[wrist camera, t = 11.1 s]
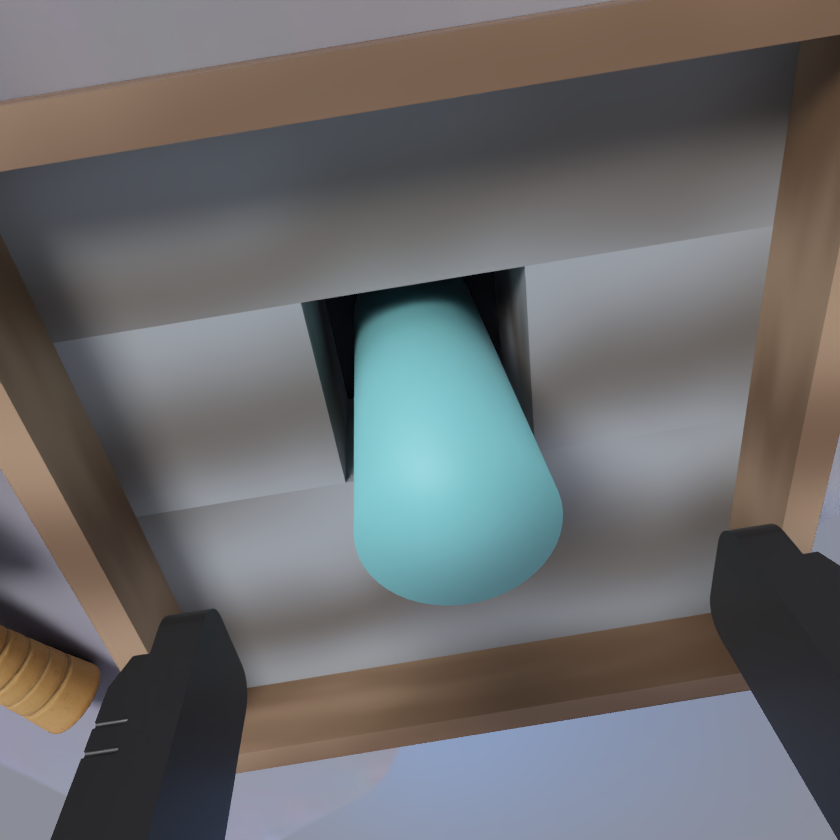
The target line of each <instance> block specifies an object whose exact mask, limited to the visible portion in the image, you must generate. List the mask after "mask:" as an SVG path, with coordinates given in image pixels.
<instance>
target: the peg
mask: <svg viewBox="0 0 840 840" xmlns="http://www.w3.org/2000/svg"><path fill="white" fill-rule="evenodd" d="M562 524H563V508H562V501H561V498H560V495H559V492H558V489H557V487H556V485H555V483H554V480H553V478H552V476H551V474H550V471H549V469H548V467H547V465H546V462H545V460H544V458H543V456H542V453H541V451H540V449H539V447H538V444H537V442H536V440H535V438H534V435H533V433H532V431H531V429H530V426H529V424H528V422H527V420H526V417H525V415H524V413H523V411H522V408H521V406H520V404H519V402H518V399H517V397H516V395H515V393H514V391H513V388H512V386H511V384H510V382H509V379H508V377H507V375H506V373H505V370H504V368H503V366H502V364H501V361H500V359H499V357H498V355H497V352H496V350H495V348H494V346H493V343H492V341H491V339H490V337H489V334H488V332H487V330H486V328H485V325H484V323H483V321H482V319H481V316H480V314H479V312H478V310H477V307H476V305H475V303H474V301H473V298H472V296H471V294H470V292H469V290H468V288H467V286H466V284H465V282H464V281H463V279H462V278H461V277H456V278H450V279H444V280H437V281H431V282H425V283H419V284H413V285H407V286H401V287H394V288H388V289H382V290H376V291H370V292H364V293H359V294H358V297H357V301H356V305H355V334H354V543H355V548H356V551H357V554H358V557H359V559H360V561H361V562H362V564H363V566H364V568H365V569H366V570H367V571H368V573H369V574H370V575H371V576H372V577H373V578H374V579H375V580H376V581H377V582H378V583H379V584H381V585H382V586H383V587H385V588H386V589H387V590H389V591H391V592H393V593H395V594H397V595H399V596H401V597H404V598H406V599H409V600H412V601H416V602H419V603H425V604H431V605H442V606H451V605H464V604H471V603H476V602H481V601H484V600H488V599H491V598H494V597H496V596H499V595H501V594H504V593H506V592H508V591H510V590H512V589H513V588H515V587H517V586H519V585H520V584H521V583H523V582H524V581H526V580H527V579H528V578H530V577H531V576H532V575H533V574H534V573H536V572H537V571H538V570H539V568H540V567H541V566H542V565H543V564H544V563H545V562H546V560H547V559H548V558H549V556H550V555H551V553H552V552H553V550H554V548H555V546H556V544H557V542H558V539H559V536H560V533H561V529H562Z"/></svg>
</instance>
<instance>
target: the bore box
mask: <svg viewBox="0 0 840 840" xmlns="http://www.w3.org/2000/svg"><path fill="white" fill-rule="evenodd" d="M493 271H494V278H495V291H496V303H497V315H498V327H499V340H500V352H501V364H502V366H503V368H504V370H505V373H506V375H507V377H508V379H509V382H510V384H511V386H512V388H513V391H514V393H515V395H516V397H517V399H518V402H519V404H520V406H521V408H522V411H523V413H524V415H525V417H526V420H527V422H528V424H529V426H530V429H531V431H532V433H533V435H534V438H535V440H536V442H537V444H538V447H539V449H540V451H541V453H542V456H543V458H544V460H545V462H546V465H547V467H548V469H549V471H550V474H551V476H552V478H553V480H554V483H555V485H556V487H557V489H558V492H559V495H560V498H561V501H562V508H563V524H562V529H561V533H560V536H559V539H558V542H557V544H556V546H555V548H554V550H553V552H552V553H551V555H550V556H549V558H548V559H547V560H546V562H545V563H544V564H543V565H542V566H541V567H540V568H539V570H538V571H537V572H536V573H534V574H533V575H532V576H531V577H530V578H528V579H527V580H526V581H524V582H523V583H521V584H520V585H519V586H517V587H515V588H513V589H512V590H510V591H508V592H506V593H504V594H501V595H499V596H496V597H494V598H491V599H488V600H484V601H481V602H476V603H471V604H464V605H451V606H442V605H431V604H425V603H419V602H416V601H412V600H409V599H406V598H404V597H401V596H399V595H397V594H395V593H393V592H391V591H389V590H387V589H386V588H385V587H383V586H382V585H381V584H379V583H378V582H377V581H376V580H375V579H374V578H373V577H372V576H371V575H370V574H369V573H368V571H367V570H366V569H365V568H364V566H363V564H362V562H361V561H360V559H359V557H358V554H357V551H356V548H355V543H354V399H349V400H348V398H347V393H346V389H345V385H344V380H343V376H342V372H341V367H340V363H339V358H338V354H337V350H336V345H335V341H334V336H333V332H332V328H331V323H330V319H329V314H328V310H327V306H326V301H325V299H327V298H333V297H339V296H345V295H352V294H358V293H364V292H370V291H376V290H382V289H388V288H394V287H401V286H407V285H413V284H419V283H425V282H431V281H437V280H444V279H450V278H456V277H462V276H468V275H474V274H480V273H486V272H493ZM839 434H840V0H616V1H610V2H604V3H597V4H591V5H585V6H579V7H573V8H567V9H561V10H555V11H549V12H542V13H536V14H530V15H524V16H518V17H512V18H506V19H500V20H493V21H487V22H481V23H475V24H469V25H463V26H457V27H451V28H445V29H438V30H432V31H426V32H420V33H414V34H408V35H402V36H396V37H389V38H383V39H377V40H371V41H365V42H359V43H353V44H347V45H341V46H334V47H328V48H322V49H316V50H310V51H304V52H298V53H292V54H285V55H279V56H273V57H267V58H261V59H255V60H249V61H243V62H237V63H230V64H224V65H218V66H212V67H206V68H200V69H194V70H188V71H181V72H175V73H169V74H163V75H157V76H151V77H145V78H139V79H132V80H126V81H120V82H114V83H108V84H102V85H96V86H90V87H84V88H77V89H71V90H65V91H59V92H53V93H47V94H41V95H35V96H28V97H22V98H16V99H10V100H5V101H0V468H1V470H2V472H3V473H4V475H5V477H6V479H7V480H8V482H9V484H10V485H11V487H12V489H13V490H14V492H15V494H16V495H17V497H18V499H19V501H20V502H21V504H22V506H23V507H24V509H25V511H26V512H27V514H28V516H29V517H30V519H31V521H32V523H33V524H34V526H35V528H36V529H37V531H38V533H39V534H40V536H41V538H42V539H43V541H44V543H45V545H46V546H47V548H48V550H49V551H50V553H51V555H52V556H53V558H54V560H55V561H56V563H57V565H58V567H59V568H60V570H61V572H62V573H63V575H64V577H65V578H66V580H67V582H68V584H69V585H70V587H71V589H72V590H73V592H74V594H75V595H76V597H77V599H78V600H79V602H80V604H81V606H82V607H83V609H84V611H85V612H86V614H87V616H88V617H89V619H90V621H91V622H92V624H93V626H94V628H95V629H96V631H97V633H98V634H99V636H100V638H101V639H102V641H103V643H104V644H105V646H106V648H107V650H108V651H109V653H110V655H111V656H112V658H113V660H114V661H115V663H116V665H117V666H118V668H119V670H120V672H121V671H122V669H123V668H124V667H125V665H126V664H127V663H128V662H129V660H130V659H131V658H132V656H136V655H142V654H149V653H150V651H151V648H152V645H153V642H154V639H155V636H156V633H157V630H158V627H159V625H160V623H161V621H162V619H163V618H164V617H165V616H168V615H174V614H180V613H187V612H193V611H200V610H206V609H212V608H214V609H216V610H217V611H218V612H219V614H220V616H221V618H222V620H223V622H224V625H225V627H226V629H227V632H228V634H229V636H230V638H231V641H232V643H233V645H234V647H235V650H236V652H237V654H238V657H239V659H240V661H241V663H242V666H243V668H244V672H245V676H246V682H247V708H246V714H245V720H244V726H243V732H242V738H241V744H240V750H239V756H238V762H237V768H236V773H242V772H248V771H254V770H261V769H267V768H273V767H279V766H285V765H291V764H298V763H304V762H310V761H316V760H322V759H328V758H335V757H341V756H347V755H353V754H359V753H365V752H372V751H378V750H384V749H390V748H396V747H402V746H408V745H415V744H421V743H427V742H433V741H439V740H446V739H451V738H458V737H463V736H470V735H476V734H482V733H489V732H495V731H501V730H507V729H513V728H519V727H525V726H532V725H538V724H544V723H550V722H556V721H563V720H569V719H575V718H581V717H587V716H593V715H600V714H606V713H612V712H618V711H625V710H631V709H637V708H643V707H649V706H655V705H662V704H668V703H674V702H679V701H686V700H692V699H698V698H704V697H711V696H717V695H723V694H729V693H736V692H742V691H748V690H750V688H749V686H748V684H747V683H746V681H745V679H744V678H743V676H742V674H741V672H740V671H739V669H738V667H737V666H736V664H735V662H734V660H733V659H732V657H731V655H730V654H729V652H728V650H727V648H726V647H725V645H724V643H723V642H722V640H721V638H720V636H719V634H718V632H717V630H716V627H715V625H714V621H713V618H712V614H711V608H710V593H711V586H712V579H713V572H714V566H715V559H716V552H717V546H718V540H719V536H720V534H721V533H722V532H723V531H726V530H732V529H739V528H745V527H752V526H758V525H764V524H771V523H772V524H775V525H777V526H779V527H780V528H781V529H782V530H783V531H784V532H785V533H786V534H787V535H788V537H789V538H790V539H791V540H792V541H793V543H794V544H795V545H796V546H797V547H798V549H799V550H800V551H801V552H802V553H803V554H806V553H811V551H812V547H813V542H814V538H815V534H816V530H817V526H818V522H819V518H820V513H821V509H822V505H823V501H824V497H825V492H826V488H827V484H828V480H829V476H830V472H831V467H832V463H833V459H834V455H835V451H836V447H837V442H838V438H839Z"/></svg>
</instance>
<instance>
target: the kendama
mask: <svg viewBox="0 0 840 840" xmlns="http://www.w3.org/2000/svg"><path fill="white" fill-rule="evenodd" d="M99 682H100V670H99V668H98V667H97V666H96V665H95V664H93V663H90V662H87V661H85V660H82V659H80V658H78V657H75V656H72V655H70V654H65V653H64V652H62V651H60V650H57V649H55V648H53V647H50V646H47V645H45V644H43V643H41V642H38V641H36V640H34V639H31V638H27V637H25V636H24V635H22V634H20V633H18V632H16V631H13V630H11V629H6V628H5V627H3V626H2V625H0V705H3V706H5V707H6V708H7V709H9V710H11V711H13V712H15V713H17V714H19V715H21V716H23V717H24V718H26V719H27V720H29V721H31V722H32V723H34V724H36V725H37V726H39V727H41V728H43V729H44V730H46V731H48V732H50V733H53V734H59V733H62V732H64V731H66V730H67V729H69V728H70V727H72V726H73V725H74V724H75V723H76V722H77V721H78V720H79V719H80V718H81V717H82V715H83V714H84V713H85V712H86V710H87V709H88V707H89V706H90V704H91V702H92V700H93V698H94V697H95V694H96V692H97V689H98V686H99Z"/></svg>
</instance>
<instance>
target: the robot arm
mask: <svg viewBox="0 0 840 840" xmlns="http://www.w3.org/2000/svg"><path fill="white" fill-rule="evenodd" d="M710 608H711V614H712V618H713V621H714V625H715V627H716V630H717V632H718V634H719V636H720V638H721V640H722V642H723V643H724V645H725V647H726V648H727V650H728V652H729V654H730V655H731V657H732V659H733V660H734V662H735V664H736V666H737V667H738V669H739V671H740V672H741V674H742V676H743V678H744V679H745V681H746V683H747V684H748V686H749V688H750V690H751V691H752V693H753V695H754V696H755V698H756V700H757V702H758V703H759V705H760V707H761V708H762V710H763V712H764V714H765V715H766V717H767V719H768V720H769V722H770V724H771V726H772V727H773V729H774V731H775V732H776V734H777V736H778V737H779V739H780V741H781V743H782V744H783V746H784V748H785V749H786V751H787V753H788V754H789V756H790V758H791V760H792V762H793V763H794V765H795V767H796V768H797V770H798V772H799V774H800V775H801V777H802V779H803V780H804V782H805V784H806V786H807V787H808V789H809V791H810V792H811V794H812V796H813V797H814V799H815V801H816V803H817V804H818V806H819V808H820V810H821V811H822V813H823V815H824V816H825V818H826V820H827V822H828V823H829V825H830V827H831V828H832V830H833V832H834V834H835V835H836V837H837V839H838V840H840V566H839V565H838V564H836V563H835V562H833V561H832V560H830V559H828V558H827V557H825V556H824V555H822V554H821V553H819V552H813V553H806V554H803V553H802V552H801V551H800V550H799V549H798V547H797V546H796V545H795V544H794V543H793V541H792V540H791V539H790V538H789V537H788V535H787V534H786V533H785V532H784V531H783V530H782V529H781V528H780V527H779V526H777V525H775V524H772V523H771V524H764V525H758V526H752V527H745V528H739V529H732V530H726V531H723V532H722V533H721V534H720V536H719V540H718V546H717V552H716V559H715V566H714V572H713V579H712V586H711V593H710ZM246 708H247V682H246V676H245V672H244V668H243V666H242V663H241V661H240V659H239V657H238V654H237V652H236V650H235V647H234V645H233V643H232V641H231V638H230V636H229V634H228V632H227V629H226V627H225V625H224V622H223V620H222V618H221V616H220V614H219V612H218V611H217V610H216V609H214V608H212V609H206V610H200V611H193V612H187V613H180V614H174V615H168V616H165V617H164V618H163V619H162V621H161V623H160V625H159V627H158V630H157V633H156V636H155V639H154V642H153V645H152V648H151V651H150V653H149V654H142V655H136V656H132V658H131V659H130V660H129V662H128V663H127V664H126V665H125V667H124V668H123V669H122V671H121V672H120V673H119V674H118V676H117V677H116V678H115V680H114V681H113V682H112V683H111V685H110V686H109V687H108V690H107V692H106V695H105V698H104V700H103V703H102V706H101V708H100V711H99V713H98V716H97V719H96V721H95V723H96V727H95V729H92V732H91V734H90V737H89V740H88V742H87V745H86V748H85V750H84V752H85V757H84V758H83V759H81V761H80V763H79V766H78V769H77V771H76V774H75V777H74V779H73V782H72V784H71V787H70V790H69V792H68V795H67V798H66V800H65V803H64V806H63V808H62V811H61V813H60V816H59V819H58V821H57V824H56V827H55V829H54V832H53V835H52V837H51V840H225V834H226V828H227V822H228V816H229V810H230V804H231V798H232V792H233V786H234V780H235V774H236V768H237V762H238V756H239V750H240V744H241V738H242V732H243V726H244V720H245V714H246Z"/></svg>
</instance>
